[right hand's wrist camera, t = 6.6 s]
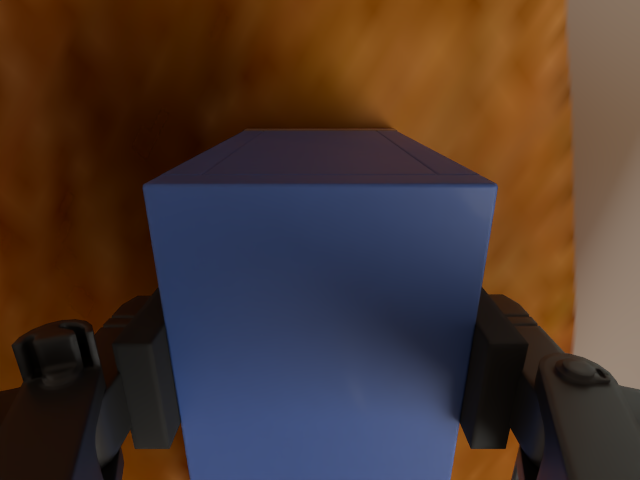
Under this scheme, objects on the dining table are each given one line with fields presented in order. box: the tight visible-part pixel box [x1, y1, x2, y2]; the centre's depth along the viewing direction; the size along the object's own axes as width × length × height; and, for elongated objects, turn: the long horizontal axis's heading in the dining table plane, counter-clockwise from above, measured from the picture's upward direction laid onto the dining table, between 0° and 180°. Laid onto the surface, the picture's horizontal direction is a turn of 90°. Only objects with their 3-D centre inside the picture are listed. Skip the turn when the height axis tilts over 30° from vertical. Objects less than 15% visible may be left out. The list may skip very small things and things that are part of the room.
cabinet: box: [143, 128, 498, 480], centre depth 15 cm, size 17×7×11 cm, turn 0°
